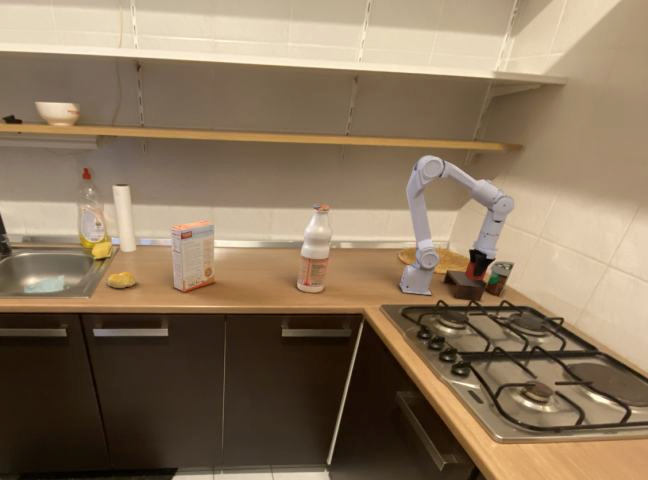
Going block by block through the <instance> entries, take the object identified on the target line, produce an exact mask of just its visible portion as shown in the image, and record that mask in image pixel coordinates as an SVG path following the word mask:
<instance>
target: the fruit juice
mask: <svg viewBox="0 0 648 480" xmlns="http://www.w3.org/2000/svg"><path fill="white" fill-rule="evenodd" d="M329 212H330V206H329V205H327V204H314V205H313V214H312V217H311V219H310V220H309V223H308V224H307V226H306V227H305V228H304V232H303V240H304V241H303V244H302V246H301V251H300V259H299V264H298V265H299V266H298V274H297V282H296V288H297V289H298V290H300V291H302V292H304V293H310V294H311V293H313V294H315V293H320V292H322V291H323V290H324V288H325V282H326V278H327V277H326V276H327V269H328V264H329V257H330V250H331V248H330V242H331V240H332V237H333V231H332V229H331V226H330V220H329Z"/></svg>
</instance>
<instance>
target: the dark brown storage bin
mask: <svg viewBox="0 0 648 480" xmlns="http://www.w3.org/2000/svg"><path fill="white" fill-rule="evenodd" d="M465 272H466V271H462V270H452V269H451V270H450V269H446V272H445V275H444V278H443V281H442V283H443V284H447V285H456V286H457V289H456V291H455V295H454V298H455V299H458V300H467V301H476V302H477V301H478V302H480V301H481V300H482V297H483V295H484V292H485V291H486V288H487V285H488V282H487V281H485V279H483V280H475V279H468V278H467V277H466V275H465Z"/></svg>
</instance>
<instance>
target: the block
mask: <svg viewBox="0 0 648 480" xmlns="http://www.w3.org/2000/svg"><path fill="white" fill-rule="evenodd" d="M475 266H476V263H472V262H470V261H469V262H468V264H467V267H466V269H465V271H464V272H465V275H466V277H467V278H468V279H475V280H485V279H484V278H485V277H486V272H487V271H488V267H489V266H488V267H487V269H486V270H485V271H484V273H483V274H482V276H481V277H480V276H474V270H475Z"/></svg>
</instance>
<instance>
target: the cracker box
mask: <svg viewBox="0 0 648 480" xmlns="http://www.w3.org/2000/svg"><path fill="white" fill-rule="evenodd" d="M170 239H171V241H170V242H171V255H172V256H171V257H172V272H173V273H172V274H173V288H174V289H175V290H178V291H181V292H183V293H186V292H189V291H192V290H195V289H198V288H201V287H204V286H208V285H211V284H214V283H215V223H214V222H213V223H212V222H209V221H207V220H201V221H195V222H194V221H193V222H190V223H183V224H178V225H173V226H170Z"/></svg>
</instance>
